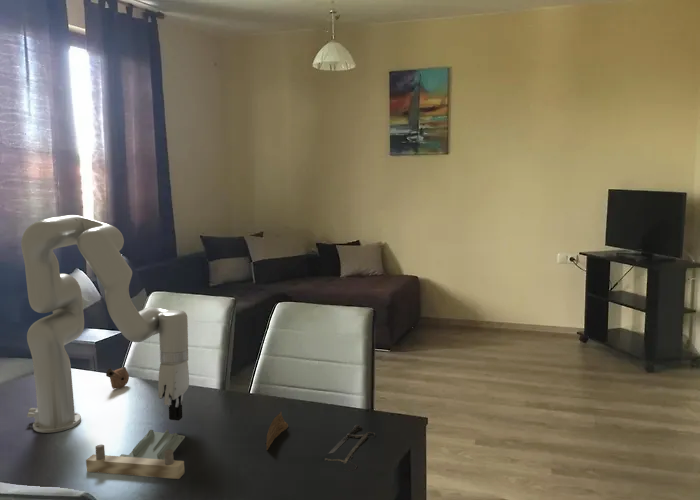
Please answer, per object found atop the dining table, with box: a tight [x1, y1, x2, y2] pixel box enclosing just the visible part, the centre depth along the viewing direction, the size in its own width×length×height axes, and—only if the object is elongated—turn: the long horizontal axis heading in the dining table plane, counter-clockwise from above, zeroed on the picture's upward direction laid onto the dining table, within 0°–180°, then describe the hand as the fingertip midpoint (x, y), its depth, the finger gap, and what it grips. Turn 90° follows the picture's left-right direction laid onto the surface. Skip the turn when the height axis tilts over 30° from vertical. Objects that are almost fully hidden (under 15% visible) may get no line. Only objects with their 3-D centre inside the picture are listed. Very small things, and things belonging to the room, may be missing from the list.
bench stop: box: [85, 444, 186, 480], centre depth 154 cm, size 24×3×6 cm, turn 80°
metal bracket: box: [119, 428, 186, 460], centre depth 163 cm, size 14×6×15 cm
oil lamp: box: [105, 366, 130, 390], centre depth 211 cm, size 9×4×8 cm, turn 154°
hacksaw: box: [324, 424, 376, 472], centre depth 166 cm, size 24×10×1 cm, turn 156°
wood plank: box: [265, 411, 289, 451], centre depth 172 cm, size 15×2×5 cm, turn 170°
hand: (175, 418), depth 178 cm, fingers closed
